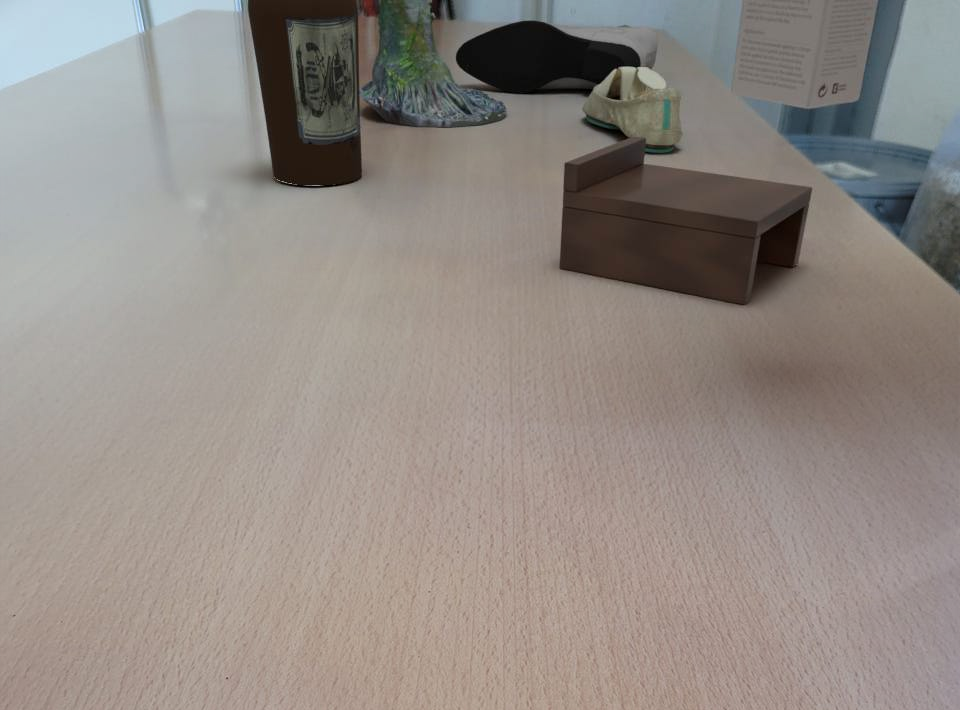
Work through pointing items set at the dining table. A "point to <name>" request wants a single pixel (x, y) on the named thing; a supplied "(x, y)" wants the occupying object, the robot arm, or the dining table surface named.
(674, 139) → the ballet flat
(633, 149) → the shelf
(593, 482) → the dining table surface
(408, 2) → the tree stump
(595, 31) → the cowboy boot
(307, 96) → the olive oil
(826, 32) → the cosmetic box
